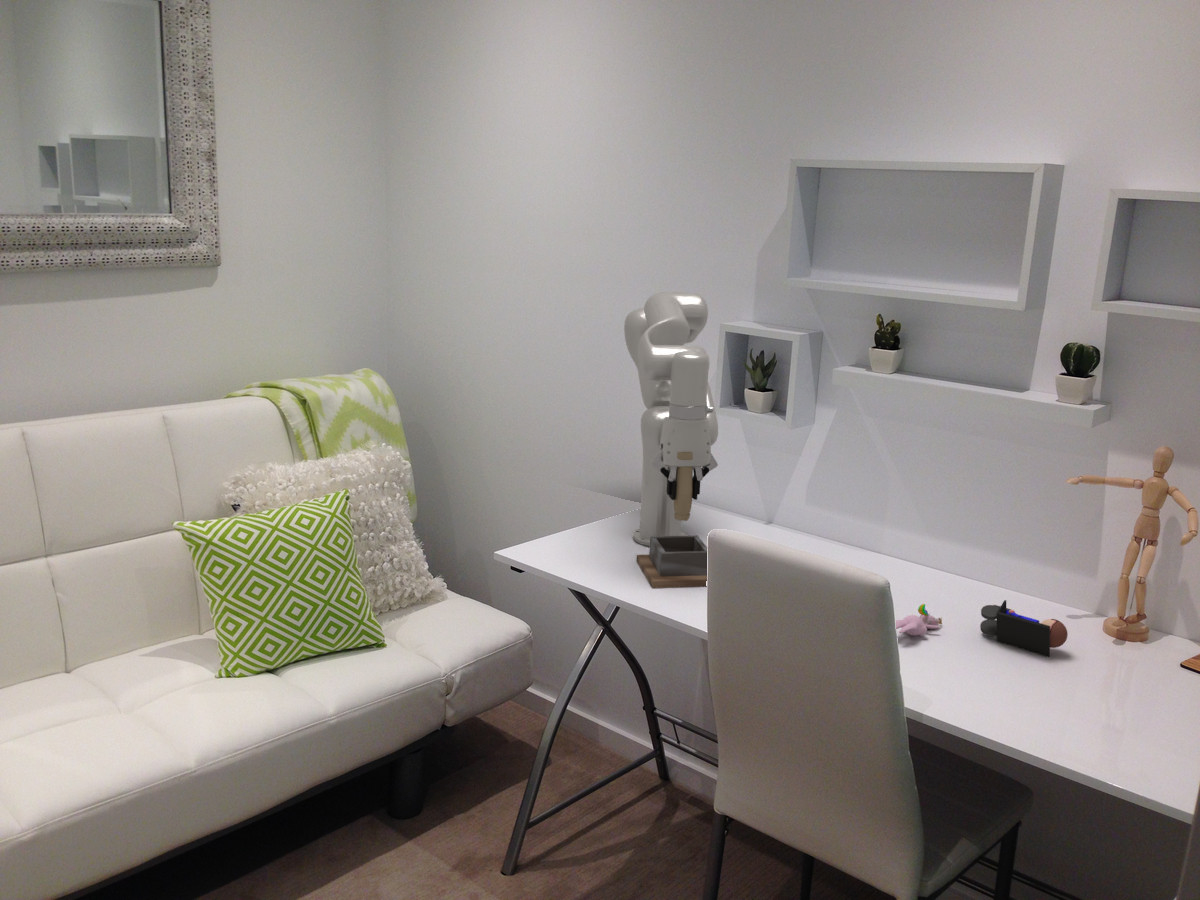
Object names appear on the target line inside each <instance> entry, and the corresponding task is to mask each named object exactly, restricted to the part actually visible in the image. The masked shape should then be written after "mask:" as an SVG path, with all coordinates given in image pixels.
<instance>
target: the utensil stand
mask: <svg viewBox="0 0 1200 900" xmlns="http://www.w3.org/2000/svg"><path fill="white" fill-rule="evenodd" d="M707 548H708V546H707V545H706V544H705V542H704V541H703V540H702V539H701V538H700V536H699V535H687V536H650V546H649V554H636V559H635V560H636V563H637V564H638V566H639V568H640V570H641V572H642V573H643V575H644V577H645V578H646V580H647V582H648V583H649V585H650V587H651V588H652V589H670V588H672V589H673V588H698V587H699V588H703V587H704V586H705V587H706V581H707ZM701 586H702V587H701Z"/></svg>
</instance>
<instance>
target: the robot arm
mask: <svg viewBox="0 0 1200 900" xmlns="http://www.w3.org/2000/svg"><path fill="white" fill-rule="evenodd" d="M708 309H709V308H708V304H707V302H706V300H705V297H704V296H703V295H701V294H699V293H697V292H677V291H676V292H675V291H672V292H671V291H668V292H667V291H664V292H657V293H653V294H652V295H650V296H649V297H648V298H647V300H646V301H645V304H644V307H642V308H637V309H634V310H632V311H630V312H629V313H628V314H627V316H626V317H625V320H624V328H623V331H624V341H625V345H626V348H627V350H628V353H629V355H630V358H631V359H632V361H633V362H634V365H635V366H636V369H637V370H636V371H637V373H638V380H639V386H640V393H641V397H642V401H643V404H644V407H645V408H646V410H644V412H643V413H642V415H641V418H640V433H641V442H642V474H641V475H642V477H641V478H642V479H641V494H640V495H641V496H640V497H641V498H640V499H641V500H640V516H639V517H640V518H639V519H640V520H639V521H640V522H639V528H637V529H636V530H634V532H633V534H632V539H633V540H634V541H635V542H636V543H637V544H641V545H643V546H646V547H650V536H688V534H687V533H686V532H684V531H682V521H679V520H676V519H675V518H674V513H675V511H674V500H675V499H676V481H675V478H676V469H677V467H693V497H692V500H695V501H697V500H698V495H700V493H701V482H702V481H703V478H704V477H706V476H707V475H708V474H709V472H710V471H712V470H714V469H715V468H717V467H718V465H719V464H718V462H717V460H716V459H715V456H714V455H713V453H712V446H714V444H715V443H716V442H717V440H718V436H719V421H718V417H717V412H716V408H715V403H714V398H713V396H712V394H713V393H712V389H711V386H710V383H709V370H710V356H709V354H708V353H707V351H706V349H705V348H704V347H702V346H698V345H687V344H690V343H693V342H694V341H695V340H696V339H697V337H699V335H700V333H701V332H702V331H703V330H704V328H705V327H706V325H707V322H708V316H709V310H708ZM685 344H686V345H685ZM677 452H693V460H680V459H678V458H677Z"/></svg>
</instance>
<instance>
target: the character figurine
mask: <svg viewBox="0 0 1200 900" xmlns="http://www.w3.org/2000/svg"><path fill="white" fill-rule="evenodd" d="M980 614H981V617H982V618H984V620H982V621H981V622H980V625H979V627H980V631H981V633H982V634H984V635H986V636H991V637H992V636H993V637H995V636H996V642H997V643H1000V644H1004V645H1007V646H1011V647H1014V648H1017V649H1019V650H1024V651H1027V652H1031V653H1034V654H1037V655H1040V656H1043V657H1047V658H1050V656H1051V648H1053V649H1056V648H1059V647H1062V646H1063V645H1064V644H1065V643H1066V641H1067V639H1068V629H1067V627H1066V626H1065V624H1064V623H1063V622H1061V621H1060V620H1058V619H1055V618H1048V619H1045V620H1043V621H1040V620H1038V619H1036V618H1031V617H1028V616H1025V615H1021V614H1018V613H1016V611H1015V610H1014V609H1012V608H1007V600H1006V599H1005V600H1003V602H1002V603H1001V604H1000V605H996V604H989V605H987V604H986V605H984V606H982V607H981V609H980Z"/></svg>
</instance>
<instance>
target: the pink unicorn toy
mask: <svg viewBox="0 0 1200 900" xmlns="http://www.w3.org/2000/svg"><path fill="white" fill-rule="evenodd" d="M917 611H918V613H919V615H920V616H918V615H914V614H910V615H906V616H905V617H904V618H903V619H896V620H895V621H896V629H895V630H897V629H900V630H899V631H898V633H899V634H901V633H905V634H907V635H910V636H911V637H914V636H915V637H917V636H922V635H924V634H925V635H926V633H927V632H928V630H935V629H940V626H943V622H942V621H943V620H942V618H943V616H941V617H937V618H936V617H935V616H933V615H931V613H928V610H927V609H926V604H925V603H922V604H920V606H919V607H918V609H917Z"/></svg>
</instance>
